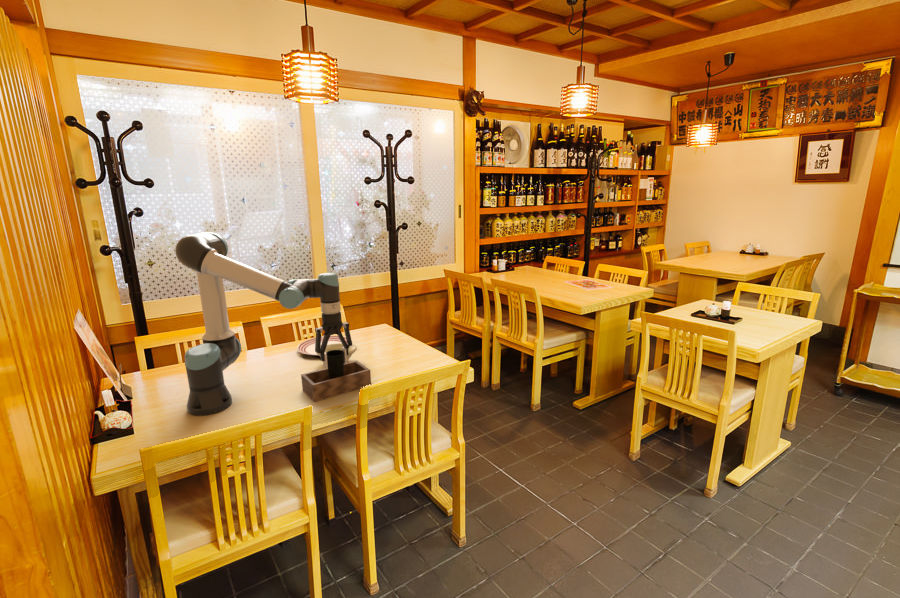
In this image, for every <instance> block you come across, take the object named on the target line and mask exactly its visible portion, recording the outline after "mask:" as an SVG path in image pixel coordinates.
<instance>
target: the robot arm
mask: <svg viewBox="0 0 900 598" xmlns="http://www.w3.org/2000/svg"><path fill="white" fill-rule="evenodd" d="M228 253H229V247H228V243H227V241H226V240H225V239H224V238H223V237H222V236H221V235H220V234H218V233H216V232H211V231H209V232H208V231H204V232H199V233H195V234H189V235H185V236H183V237H182V238H180V239H179V240H178V241H177V243H176V245H175V255H176V256H175V257H176V258H177V260H178V261H179V262H180V263H181V264H182V265H183V266H185V267H186V268H189V269H190V270H191V271H193V272H194V273H195V274H196V275H197V276H196V277H197V278H196V279H197V283H198V289H199V297H200V302H201V308H202V316H203V322H204V329H205V333H204V334H203V336H202V337H201V338H202V343H200V344H197V345H195V346H192V347H191V348H189V349H188V350H187V351H186V352H185V353H184V365H185V369H186V370H185V371H186V377H187V382H188V388H189V393H188V398H187V403H186V409H187V410H186V411H187V413H188V414H189V415H192V416H207V415H212V414H216V413H219V412H222V411H224V410H226V409H228V408H229V407H230V406H231V405H232V403H233V399H232V395H231V393H230V391H229V390H228V388H227V386H226V383H225V379H224V371H225V370H226V369H227V368H229V366H231V365H233V363H235V362H236V361H237V359H238V358H239V356H240V354H241V353H242V345H241V344H242V343H241V342H240V340H239V339H238V338H237V337H236V335H235V331H234V330H232V329H231V328H230V322H229V321H230V320H229V315H228V314H229V313H228V306H227V300H226V299H227V298H226V293H225V285H224V280H225V281H228V282H231V283H233V284H235V285H237V286H240V287H242V288H245V289H248V290H250V291H253V292H256V293H258V294H261V295H263V296H266V297H268V298H270V299H272V300H275V301H277V302H279V304H280V305H281V306H282V307H283V308H285V309H288V310H291V309H296V308H297V307H299V306H301V305H302V303H303V302H305V301H306V300H307V299H317V298H319V299H320V312H321V323H322V325H321V326H320V327H315V328H314V331H315V337H316V343H315V352H317V353H320V356H319V357H320V361H321V362H322V363H323V369H328V364H327V353H325V350H326V347H327V343H328V340H329V338H330V336H334V335H336V336H338V337H339V339H340V341H341V343H342V344H343V346H344V347H342V351H344V363H345V364H347V363H348V362H347V355H348V354H349V353H348V349H349V346H352V345H353V341H352V337H351V332H350V323H348V322H347V321H345V322H343V321H342V312H341V309H342V307H341V295H340V283H339V282H340V281H339V277H338V274H337V273H336V272H321V273H319V274H318V275H317V276H318V277H317V278H295V279H289V280H288V281H286V280H283V279H281V278H278V277H275V276H273V275H270V274H268V273H266V272H264V271H262V270H260V269H256V268H254V267H252V266H249V265H247V264H244V263H242V262H239V261H237V260H234V259H232V258H229V257H227V255H228ZM342 328H343V330H344V331H343V332H344V335H343V333H342V331H341V329H342ZM323 331H324V334H323V336H324V338H323V341H322V344H321V336H322V333H323ZM343 336H344V337H346V340H347V343H346V341H345V339H344V337H343ZM320 347H321V348H320Z"/></svg>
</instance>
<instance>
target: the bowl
mask: <svg viewBox="0 0 900 598" xmlns="http://www.w3.org/2000/svg"><path fill="white" fill-rule="evenodd" d="M342 347H344V346H343V344H342V343H337V344H329V345H327V347H326V350H325V353H326V352H328V351H331V350H342ZM356 351H357V347H356V346H355V344H352V346H349V349H348V353H349V354H348V355H347V363H349V362H348V361H349V359H350V358H351V357H352V355H353V354H354V353H356ZM316 354H318V355H319V357H320V353H317V352H316ZM344 364H345V363H344Z"/></svg>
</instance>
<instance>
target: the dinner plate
mask: <svg viewBox="0 0 900 598" xmlns="http://www.w3.org/2000/svg"><path fill="white" fill-rule="evenodd" d="M343 337H344V339H345V341H346V343H347V340H346V336H345V335H343ZM323 338H324V335H321V344H322V341H323ZM315 343H316V336H315V337H312V338H308V339H306V340H304V341H302V342H300V343H299V344H298V345H297V347H296V350H297V351H298V352H299V353H301V354H302V355H303V354H304V355H308V356H314V357H315V356H316V357H318V356H319V355H318V354H316V352H315ZM337 343H341V341H340V339H339V337H338V335H330V338H329V340H328V343H327V345H329V344H337ZM320 348H321V347H320ZM319 357H320V356H319Z"/></svg>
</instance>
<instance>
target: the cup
mask: <svg viewBox="0 0 900 598" xmlns="http://www.w3.org/2000/svg"><path fill="white" fill-rule="evenodd" d="M326 353H327V364H328V374H329V379H334V378H337V377H341V376H344V351H342V350H331V351H328V352H326Z"/></svg>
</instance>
